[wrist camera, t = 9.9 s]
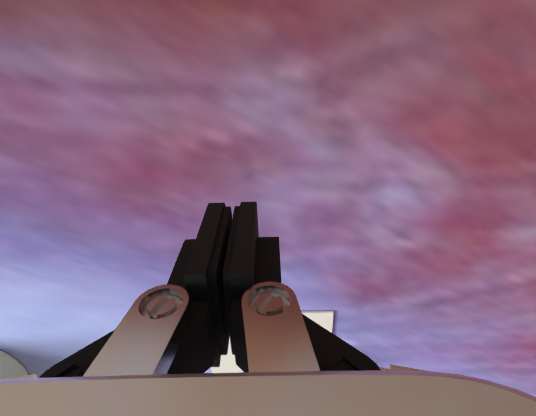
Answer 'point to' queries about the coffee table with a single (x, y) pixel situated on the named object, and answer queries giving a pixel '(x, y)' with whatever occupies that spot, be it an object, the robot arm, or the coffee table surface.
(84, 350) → the robot arm
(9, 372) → the can
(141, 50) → the coffee table surface
